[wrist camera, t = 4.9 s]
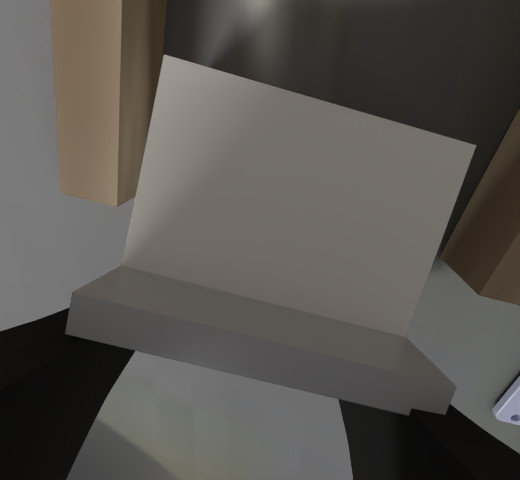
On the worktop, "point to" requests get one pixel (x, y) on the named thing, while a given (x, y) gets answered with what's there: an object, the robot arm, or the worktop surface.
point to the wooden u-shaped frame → (139, 117)
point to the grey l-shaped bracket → (280, 241)
